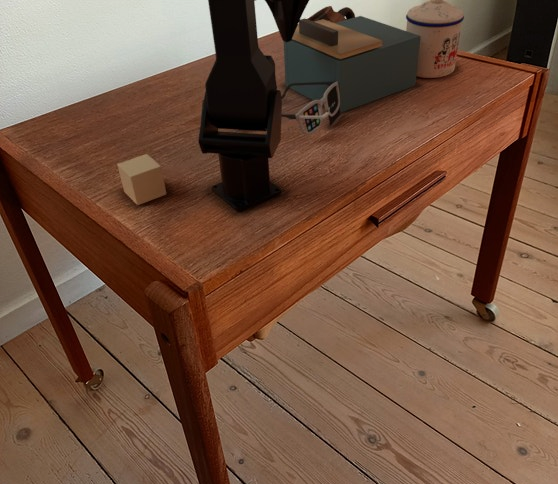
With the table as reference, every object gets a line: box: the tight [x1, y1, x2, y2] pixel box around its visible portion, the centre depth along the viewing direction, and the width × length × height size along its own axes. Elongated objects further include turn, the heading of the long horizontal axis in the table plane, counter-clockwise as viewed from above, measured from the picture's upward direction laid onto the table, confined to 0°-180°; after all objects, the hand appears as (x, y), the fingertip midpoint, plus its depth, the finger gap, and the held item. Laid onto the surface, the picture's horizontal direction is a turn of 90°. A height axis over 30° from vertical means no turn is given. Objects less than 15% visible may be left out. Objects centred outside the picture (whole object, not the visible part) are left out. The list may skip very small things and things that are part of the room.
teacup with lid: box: [405, 0, 465, 79], centre depth 97 cm, size 12×9×12 cm
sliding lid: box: [292, 17, 382, 59], centre depth 88 cm, size 14×8×3 cm, turn 35°
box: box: [283, 15, 421, 114], centre depth 93 cm, size 14×16×8 cm
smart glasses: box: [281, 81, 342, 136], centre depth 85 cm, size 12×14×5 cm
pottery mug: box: [307, 5, 356, 23], centre depth 108 cm, size 12×10×8 cm
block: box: [117, 153, 167, 206], centre depth 72 cm, size 4×4×4 cm
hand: (286, 41), depth 84 cm, fingers closed
